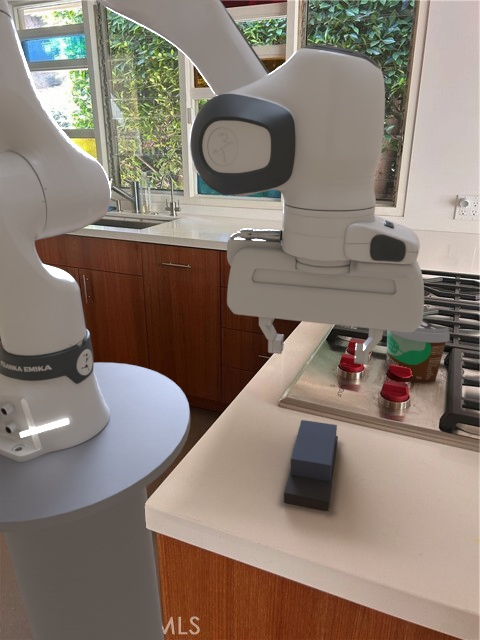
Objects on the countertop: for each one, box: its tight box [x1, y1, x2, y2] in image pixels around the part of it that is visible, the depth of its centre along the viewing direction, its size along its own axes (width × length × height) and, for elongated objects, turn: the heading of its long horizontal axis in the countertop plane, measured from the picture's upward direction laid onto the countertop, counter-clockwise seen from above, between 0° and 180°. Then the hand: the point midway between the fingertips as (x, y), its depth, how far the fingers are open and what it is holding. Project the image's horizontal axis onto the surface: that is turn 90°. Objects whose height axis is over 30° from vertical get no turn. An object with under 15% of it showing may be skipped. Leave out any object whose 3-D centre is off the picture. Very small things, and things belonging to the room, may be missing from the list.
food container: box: [386, 318, 451, 384], centre depth 77 cm, size 12×6×10 cm, turn 21°
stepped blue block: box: [283, 419, 339, 511], centre depth 56 cm, size 12×5×4 cm, turn 164°
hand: (317, 356), depth 51 cm, fingers open, 8 cm apart
